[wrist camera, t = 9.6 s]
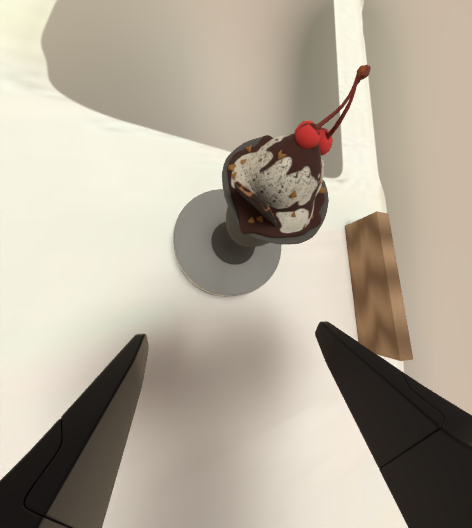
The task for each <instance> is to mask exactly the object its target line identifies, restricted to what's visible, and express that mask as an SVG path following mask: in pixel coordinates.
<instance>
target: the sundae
mask: <svg viewBox="0 0 472 528" xmlns="http://www.w3.org/2000/svg"><path fill="white" fill-rule="evenodd" d="M369 72H370V66H368V65H365V66H360V67H359V69H358V70H357V75H356V78H355V81H354V84H353V86H352V89H351V91H350V93H349V95H348V96H347V98H346V99H345V100H344V102H343V103H342V104H341V105H340V106H339V107H338V108H337V109H336V110H335V111H334V112H333V113H332V114H330V115H329V116H328V117H326V118H325V119H324V120H322V121H321V122H320V123H318V124H315V123H313V122H312V121H303V122H302V123H301V124H300V125H299V126H298V127H297V129H296V130H295V133H294V134H290V135H283V136H279V137H276V138H272V137H271V136H268V135H267V136H263V137H260V138H256V139H253V140H250V141H248V142H245V143H243V144H242V145H240V146H239V147H238V148H236V149H235V150H234V151H233V152H232V153H231V154H230V155H229V156H228V157H227V158H226V161H225V163H224V167H223V171H222V183H223V190H224V197H225V199H226V202H227V205H228V207H227V212H226V222H223V223H221V224H219V225H218V226H217V227H216V229H215V230H214V232H213V234H212V238H211V243H212V248H213V250H214V252H215V254H216V256H217V257H219V258H220V259H221V260H222V261H223V262H226V263H228V264H232V265H237V264H242V263H244V262H246V261H248V260H249V259H250V258H251V256H252V255H253V253H254V250H255V247H257V246H262V245H265V244H268V243H275V244H299V243H302V242H304V241H307V240H309V239H310V238H312V237H313V236H314V235H315V234H316V233H317V231H318V230H319V228H320V227H321V225H322V223H323V221H324V219H325V216H326V212H327V208H328V202H329V200H328V192H327V188H326V185H325V182H324V180H323V175H324V162H323V158H322V156H321V155H324V154H326V153H327V152H328V151H329V150H330V148H331V145H332V142H333V140H332V137H331V136H332V134H333V133H334V132H335V130H336V129H337V128H338V127H339V125H340V124H341V122H342V120H343V118H344V117H345V115H346V113H347V111H348V110H349V108H350V105H351V103H352V100H353V97H354V94H355V91H356V87H357V85H358V83H359V82H360V80H362V79H364V78H366V77H367V76H368V75H369ZM349 98H350V100H349ZM348 100H349V102H348V104H347V106H346V107H345V109H344V111H343V113H342V114H341V116H340V118H339V119H338V121H337V122H336V124H335V126H334V127H333V128H332V129H331V130H330V131H328V130H327V129H324V128H321V126H323V125H324V124H325V123H326V122H328V121H329V120H330V119H331V118H333V117H334V116H335V115H336V114H337V113H338V112H339V111H340V110H341V109H342V108H343V107H344V105H345V104H346V103H347V101H348Z"/></svg>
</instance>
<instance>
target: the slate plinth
mask: <svg viewBox="0 0 472 528" xmlns="http://www.w3.org/2000/svg"><path fill="white" fill-rule="evenodd" d="M227 207H228V205H227V202H226V199H225V197H224V190H223V189H220V190H212V191H208V192H205V193H203V194H201V195H199V196H197V197H195V198H194V199H192V200H191V201H190V202H189V203H188V204H187V205H186V206H185V207H184V208H183V210H182V211H181V213H180V214H179V217H178V219H177V221H176V224H175V229H174V248H175V253H176V258H177V261H178V264H179V266H180V268H181V270H182V272H183V273H184V275H185V276H186V277H187V279H188V280H189V281H190V282H191V283H192V284H194V285H195V286H196V287H198V288H199V289H201V290H203V291H205V292H207V293H210V294H213V295H218V296H234V295H241V294H246V293H249V292H252V291H254V290H256V289H258V288H259V287H261V286H262V285H264V284H265V283H266V282H267V281H268V280H269V279H270V277H271V276H272V275H273V273H274V272H275V270H276V268H277V265H278V263H279V259H280V255H281V244H275V243H268V244H265V245H262V246H257V247H255V250H254V253H253V255H252V256H251V258H250V259H249V260H248V261H246V262H244V263H242V264H237V265H232V264H228V263H226V262H223V261H222V260H221V259H220V258H219V257H217V256H216V254H215V252H214V250H213V248H212V243H211V238H212V234H213V232H214V230H215V229H216V227H217V226H218V225H219V224H221V223H223V222H226V212H227Z"/></svg>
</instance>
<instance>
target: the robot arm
mask: <svg viewBox="0 0 472 528" xmlns="http://www.w3.org/2000/svg"><path fill="white" fill-rule="evenodd" d="M315 335H316V338H317V341H318V343H319V346H320V349H321V351H322V354H323V356H324V359H325V361H326V363H327V366H328V368H329V370H330V372H331V374H332V376H333V378H334V380H335V382H336V384H337V386H338V388H339V390H340V392H341V394H342V396H343V398H344V400H345V402H346V404H347V406H348V408H349V410H350V412H351V414H352V416H353V418H354V420H355V422H356V424H357V426H358V428H359V430H360V432H361V434H362V436H363V438H364V440H365V442H366V444H367V446H368V448H369V450H370V452H371V454H372V455H373V457H374V459H375V461H376V463H377V465H378V467H379V468H380V469H379V470H380V472H381V474H382V476H383V478H384V480H385V482H386V484H387V486H388V488H389V490H390V492H391V494H392V496H393V498H394V500H395V502H396V504H397V506H398V508H399V510H400V512H401V514H402V516H403V518H404V520H405V522H406V524H407V526H408V528H472V415H470V414H468V413H467V412H465V411H463V410H462V409H460V408H458V407H457V406H455V405H454V404H452V403H450V402H449V401H447V400H445V399H444V398H442V397H441V396H439V395H437V394H436V393H434V392H432V391H431V390H429V389H428V388H426V387H424V386H423V385H421V384H420V383H418V382H417V381H415V380H414V379H412V378H411V377H409V376H408V375H406V374H405V373H403V372H401V371H400V370H399V369H397V368H396V367H394V366H393V365H391V364H390V363H388V362H387V361H386V360H384V359H383V358H381V357H380V356H378V355H377V354H375V353H374V352H372V351H371V350H369V349H368V348H366V347H365V346H363V345H362V344H360V343H359V342H357V341H356V340H354V339H353V338H351V337H350V336H348V335H347V334H345V333H344V332H342V331H341V330H339V329H338V328H337V327H335V326H334V325H332V324H331V323H329V322H326V321H325V322H320V323H319V325H318V327H317V329H316V331H315ZM148 348H149V346H148V341H147V336H146V334H137V335H135V336H134V337H133V338H132V339H131V340H130V342H129V343H128V344H127V345H126V346H125V347H124V348H123V349H122V350H121V351H120V353H119V354H118V355H117V356H116V357H115V358H114V359H113V360H112V361H111V362H110V364H109V365H108V366H107V367H106V368H105V369H104V370H103V371H102V372H101V374H100V375H99V376H98V377H97V378H96V379H95V380H94V381H93V382H92V383H91V385H90V386H89V387H88V388H87V389H86V390H85V391H84V392H83V393H82V395H81V396H80V397H79V398H78V399H77V400H76V401H75V402H74V403H73V404H72V406H71V407H70V408H69V409H68V410H67V411H66V412H65V413H64V414H63V415H62V417H61V419H59V420H58V421H57V422H56V423H55V424H54V425H53V426H52V427H51V429H50V430H49V431H48V432H47V433H46V434H45V435H44V436H43V437H42V438H41V439H40V440H39V442H38V443H37V444H36V445H35V446H34V447H33V448H32V449H31V450H30V451H29V452H28V453H27V454H26V455H25V456H24V457H23V458H22V459H21V460H20V461H19V462H18V463H17V464H16V465H15V466H14V467H13V468H12V469H11V470H10V471H9V472H8V473H7V474H6V475H5V476H4V477H3V478H2V479H1V480H0V528H102V525H103V522H104V518H105V515H106V511H107V508H108V504H109V501H110V497H111V494H112V490H113V487H114V483H115V480H116V476H117V473H118V469H119V466H120V462H121V459H122V455H123V451H124V448H125V444H126V441H127V437H128V434H129V430H130V427H131V423H132V420H133V416H134V413H135V409H136V406H137V402H138V399H139V395H140V392H141V388H142V383H143V378H144V372H145V367H146V361H147V355H148Z"/></svg>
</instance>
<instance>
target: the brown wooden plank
mask: <svg viewBox="0 0 472 528" xmlns="http://www.w3.org/2000/svg"><path fill="white" fill-rule="evenodd" d="M345 230H346V239H347V247H348V255H349V264H350V272H351V280H352V289H353V297H354V305H355V314H356V322H357V330H358V339H359V343H360V344H362V345H363V346H365V347H366V348H368V349H369V350H371V351H372V352H374V353H375V354H378V355H381V356H385V357H388V358H392V359H395V360H399V361H404V360H412V359H413V355H412V349H411V345H410V338H409V332H408V326H407V321H406V315H405V309H404V303H403V297H402V291H401V286H400V280H399V274H398V268H397V263H396V256H395V251H394V245H393V239H392V233H391V227H390V222H389V216H388V214H387V213H382V212H375V213H373V214H370V215H368V216H366V217H364V218H362V219H360V220H357V221H355V222H353V223H351V224H349V225H347V226H345Z"/></svg>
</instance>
